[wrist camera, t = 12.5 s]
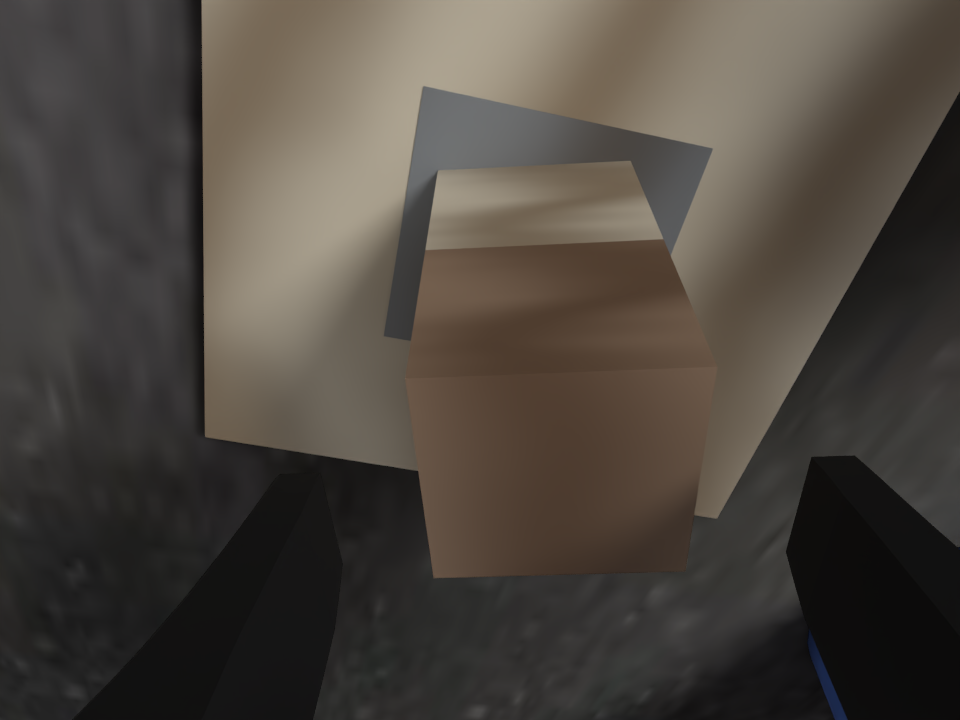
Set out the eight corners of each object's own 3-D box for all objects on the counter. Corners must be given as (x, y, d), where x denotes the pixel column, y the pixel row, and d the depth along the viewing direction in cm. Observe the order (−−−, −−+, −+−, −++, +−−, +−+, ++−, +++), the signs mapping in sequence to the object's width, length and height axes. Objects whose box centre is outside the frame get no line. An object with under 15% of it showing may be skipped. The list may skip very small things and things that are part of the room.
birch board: (996, -41, 16) (1031, -32, 15) (708, 491, 25) (717, 519, 24) (220, -240, 14) (199, -245, 13) (216, 411, 23) (204, 437, 22)
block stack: (630, 160, 17) (717, 366, 10) (620, 323, 20) (685, 571, 13) (438, 170, 17) (404, 378, 11) (452, 330, 20) (434, 578, 13)
